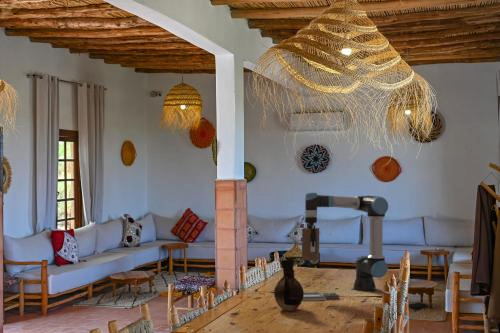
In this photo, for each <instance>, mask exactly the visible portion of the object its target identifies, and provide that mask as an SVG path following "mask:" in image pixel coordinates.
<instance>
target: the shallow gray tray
mask: <svg viewBox="0 0 500 333" xmlns="http://www.w3.org/2000/svg"><path fill="white" fill-rule="evenodd" d="M303 292H304V291H303ZM326 300H327V299H326V298H325V296H324V295H323V293H321V292H320V291H317V292H315V291H314V292H313V291H312V292H311V291H309V292H308V291H307V292H304V296H303V300H302V302H303V301H307V302H308V301H326Z"/></svg>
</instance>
